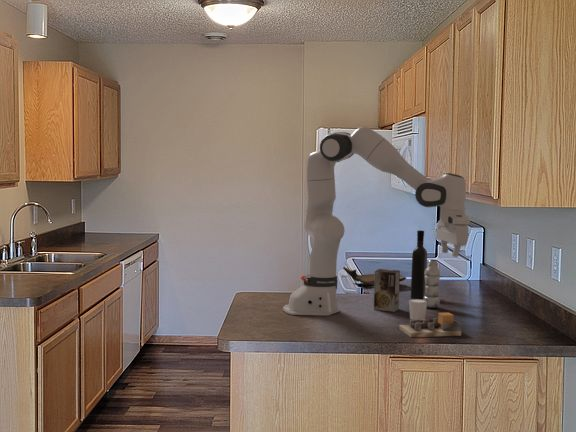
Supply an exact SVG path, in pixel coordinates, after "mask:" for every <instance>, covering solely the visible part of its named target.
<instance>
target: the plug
mask: <svg viewBox="0 0 576 432" xmlns="http://www.w3.org/2000/svg"><path fill="white" fill-rule="evenodd" d="M437 318H438V323H434V328H439V327H440V328H441V329H442V325H443V323H453V319H454V314H452V313H450V311H448V312H438V315H437ZM420 323H421V322H420ZM412 328H413V329H414V328H415V324H412ZM421 328H428V323H423V322H422V323H421Z"/></svg>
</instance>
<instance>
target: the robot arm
mask: <svg viewBox="0 0 576 432" xmlns="http://www.w3.org/2000/svg"><path fill="white" fill-rule="evenodd" d="M354 155H358V156H359V157H361V158H362V159H364V161H366V162H367V163H368V164H369V165H370V166H372V167H373V168H375V169H377V170H379V171H380V172H383V173H387V174H390V175H394V176H396V177H397V178H399V179H401V180H402V181H403V182H405V183H406V184H407V185H408V186H409V187H411V188H412V189H413V190H415V194H414V196H415V200H416V201H417V203H418V205H421V206H422V207H424V208H435V207H439V208H440V211H439V220H438V221H437V225H436V235H435V236H436V239H437V240H440V244H441V245H440V246H441V253H443V254H448V253H449V248H448V243H449V244H453V248H454V249H453V251H452V253H451V254H452V257H455V258H458V257H459V254H460V250H461V247H462V246H463V247H465V246H466V245H467V243H468V240H469V226H468V225H470V223H471V219H470V218H469V217H468V216H467V214H466V208H465V203H466V197H467V183H466V179H465V178H464V177H463V176H462V175H460V174H459V175H458V174H455V173H451V172H448V173H447V172H446V173H444V174H442V175H441V176H438V177H437V178H434V179H430V178H428V177H426V176H425V175H424V174H422V173H421V172H420V171H418V170H417V169H416V168H414V166H412V165H411V164H410V163H408V161H407V160H406V159H405V158H404V157H403V155H401V153H400V152H399V151H398V149H397V148H396V147H395V146H394V145H393V144H392V143H391V142H390V141H389V140H388V139H386V138H385V137H383V136H382V135H381V134H379V133H378V132H377V131H375V130H374V129H371V128H370V127H367V126H360V127H358V128H357V129H355V130H354V131H353V133H349V132H347V131H336V132H333V133H329V134H327V135H325V136H323V138H322V140H321V142H320V144H319V150H316V151H313V152H311V153H310V154H308V157H307V161H306V187H307V188H306V189H307V205H306V206H307V207H306V214H305V215H306V216H305V220H304V227H303V228H304V229H305V232H306V234H307V235H308V236H309V237H311V238H312V239H313V243H312V249H311V252H310V253H309V256H308V275H305V274H302V275H300V279H301V281H303V284H302V285H301V286H299V288H297V289H296V290H294V291H293V292H292V293H291V294H290V295H289V300H288V304H285V305H284V306H283V308H282V310H283V311H284V313H286V314H288V315H292V316H325V317H326V316H330V315H333V314H337V313H338V312H340V308H339V302H338V297H337V290H338V275H337V262H338V253H339V249H340V245H341V240H342V238H343V237H344V234H345V232H346V231H345V226H344V223H343V222H342V221H341V220H340V219H339V218H338V217H336V216H335V215H333V211H334V205H335V201H336V198H337V196H336V194H337V192H336V182H335V181H336V180H335V177H336V176H335V166H336V164H337V163H339V162H342V161H345V160H347V159H350V158H351V157H353V156H354Z"/></svg>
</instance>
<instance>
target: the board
mask: <svg viewBox="0 0 576 432" xmlns="http://www.w3.org/2000/svg"><path fill="white" fill-rule="evenodd" d="M422 323H428V328H421V322H417V320H413V319H410V320H409V324H399V326H398V329H399V330H400V331H401V332H402V333H404V334H405V335H406V336H408V337H409V338H427V337H429V338H430V337H453V336H454V337H455V336H457V337H458V336H459V337H460V336H462V322H460V321H459V320H456V319H454V318H453V323H443V325H442V329H441V328H440V327H439V328H434V323H438V317H434V318H433V319H432V321H431V322H430V319H426V318H425V319H424V320H422ZM412 324H415V328H414V329H413V328H412Z"/></svg>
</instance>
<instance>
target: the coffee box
mask: <svg viewBox="0 0 576 432" xmlns="http://www.w3.org/2000/svg"><path fill="white" fill-rule="evenodd" d="M374 274H375V285H374V287H373V289H374V292H373V295H374V296H373V310H374V311H383V312H390V313H391V312H394V313H396V311H398V310H399V309H400V308H399V307H400V282H399V280H400V275H401V270H397V269H396V270H395V269H387V268H385V269H384V268H378V269H377V270H374Z"/></svg>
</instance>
